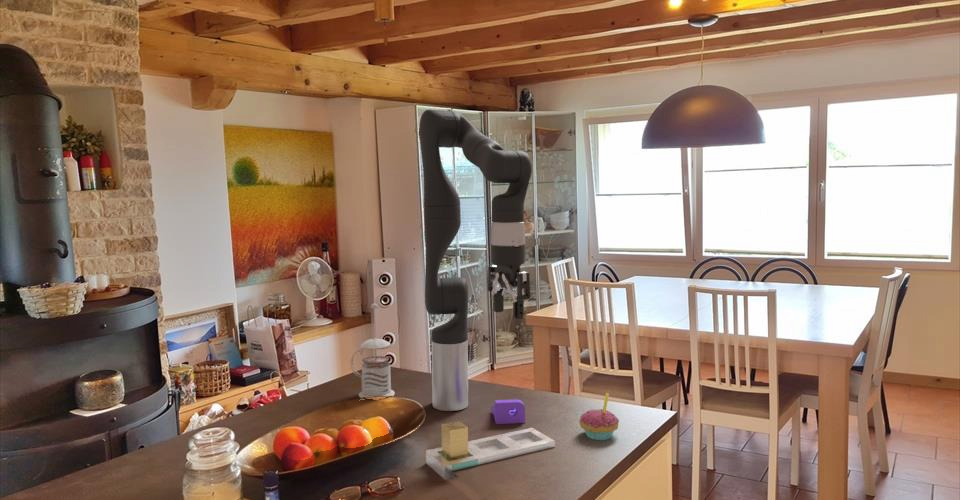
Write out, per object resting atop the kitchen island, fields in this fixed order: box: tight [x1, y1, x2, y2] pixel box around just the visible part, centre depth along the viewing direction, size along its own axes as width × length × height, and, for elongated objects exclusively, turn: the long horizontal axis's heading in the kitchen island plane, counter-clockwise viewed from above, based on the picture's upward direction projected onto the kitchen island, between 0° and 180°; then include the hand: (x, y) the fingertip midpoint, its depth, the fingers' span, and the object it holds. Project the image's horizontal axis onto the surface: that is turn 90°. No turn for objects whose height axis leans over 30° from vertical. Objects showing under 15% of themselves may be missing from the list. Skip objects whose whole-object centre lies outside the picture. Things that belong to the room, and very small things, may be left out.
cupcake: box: [578, 390, 620, 441], centre depth 153 cm, size 9×8×12 cm
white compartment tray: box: [425, 427, 556, 480], centre depth 145 cm, size 9×26×3 cm, turn 118°
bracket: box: [490, 398, 526, 425], centre depth 167 cm, size 12×7×7 cm, turn 4°
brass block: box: [440, 420, 469, 461], centre depth 141 cm, size 4×4×7 cm
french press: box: [350, 303, 396, 399], centre depth 187 cm, size 10×12×25 cm
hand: (508, 315), depth 154 cm, fingers open, 8 cm apart
